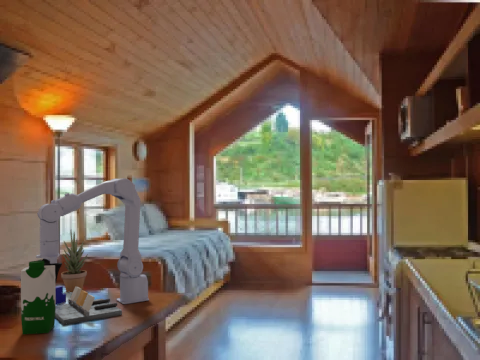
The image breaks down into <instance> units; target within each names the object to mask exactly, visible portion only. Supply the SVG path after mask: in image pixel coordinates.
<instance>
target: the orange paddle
mask: <svg viewBox="0 0 480 360" xmlns="http://www.w3.org/2000/svg"><path fill="white" fill-rule="evenodd" d="M88 294H89V292H87V291H85V290H83V289H82V290H81V292H80V295H79V297H78V299H77V301H76V304H78V305H79V306H83V304H84V302H85V300H86V297H87V295H88Z"/></svg>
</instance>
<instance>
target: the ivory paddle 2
mask: <svg viewBox="0 0 480 360" xmlns="http://www.w3.org/2000/svg"><path fill="white" fill-rule="evenodd" d="M95 298H96V297H95V296H94V295H92V294H89V293H88V295H87V297H86V299H85V302H84V304H83V307H82V308H83V309H85V310H87V311H89V310H90V308H91V306H92V303H93V301H94V300H96V299H95Z"/></svg>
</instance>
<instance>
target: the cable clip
mask: <svg viewBox="0 0 480 360" xmlns="http://www.w3.org/2000/svg"><path fill="white" fill-rule="evenodd" d="M55 291H56V305H62V304H63V303H64V304H65V303H66V302H67V293H64V286H62V285H59V286H55Z"/></svg>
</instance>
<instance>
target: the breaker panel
mask: <svg viewBox="0 0 480 360" xmlns="http://www.w3.org/2000/svg"><path fill="white" fill-rule="evenodd" d="M98 300H105V298H96V299H94V301H98ZM107 304H112V303H111V302H105V303H98V304H92V306H91V308H90V310H89V311H87V310H85V309H83V308H82V307H83V306H79V305H78V304H76V302H75V301H72V300H71V299H70V298H68V303H64V304H63V303H62V304H58V305H56V310H55V319H56V320H58V321H59V322H60V323H61V324H62V325H63V326H66V325H72V324H76V323H83V322H88V321H89V320H90V321H95V320H101V319H105V318H111V317H118V316H122V315H123V310H122V309H121V308H119V307H118V306H114V307H108V308H102V309H94V307H95V306H100V305H107ZM94 319H95V320H94Z"/></svg>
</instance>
